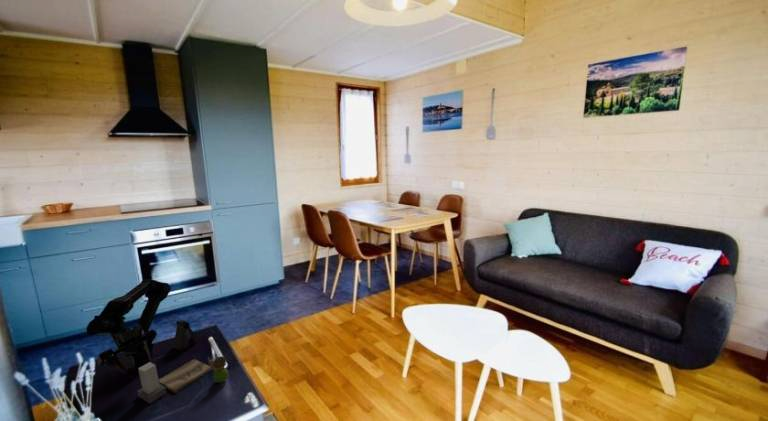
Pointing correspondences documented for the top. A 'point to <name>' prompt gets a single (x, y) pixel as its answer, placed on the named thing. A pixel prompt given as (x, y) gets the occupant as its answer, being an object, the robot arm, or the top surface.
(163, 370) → the top surface
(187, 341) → the door stopper
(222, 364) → the snail figurine
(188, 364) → the oak board
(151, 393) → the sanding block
